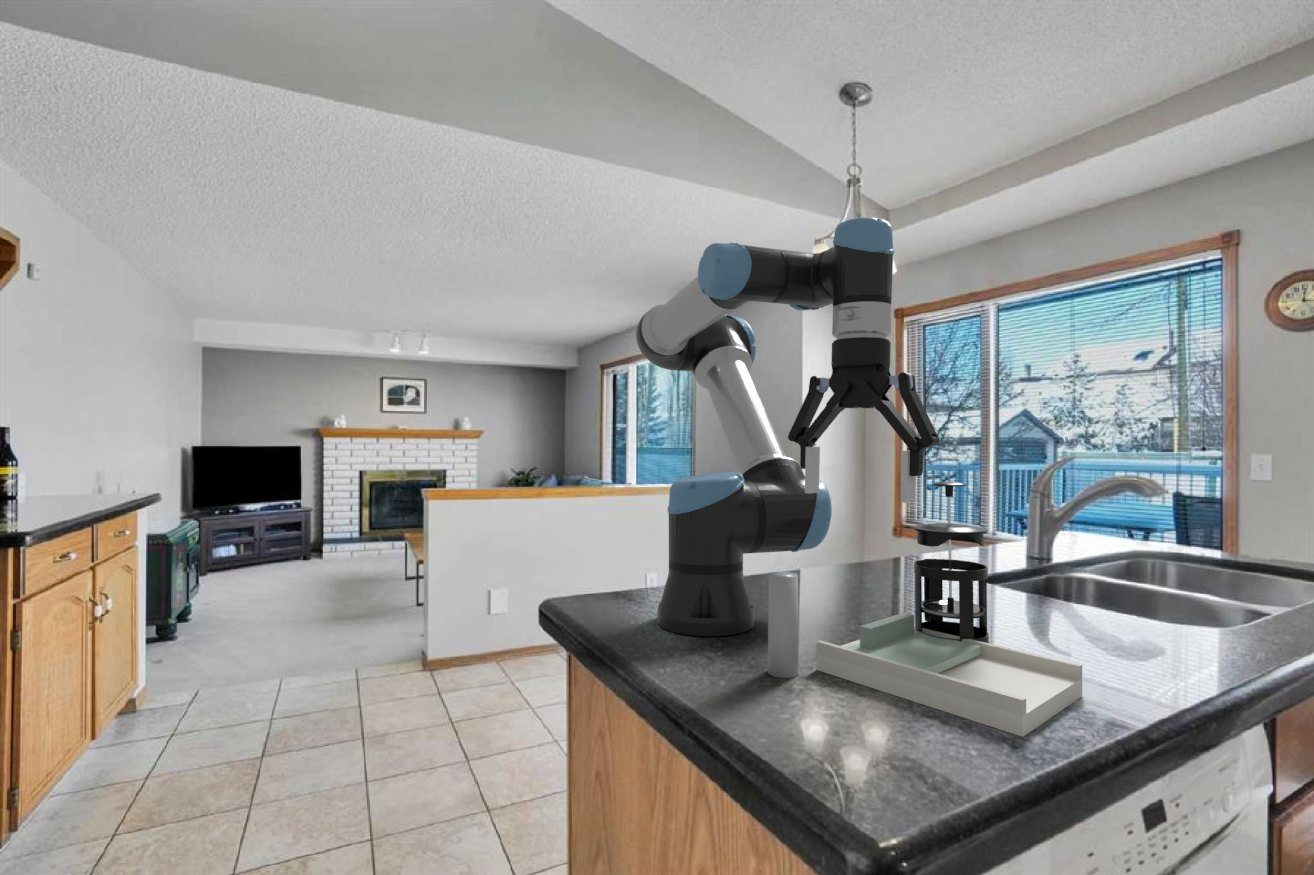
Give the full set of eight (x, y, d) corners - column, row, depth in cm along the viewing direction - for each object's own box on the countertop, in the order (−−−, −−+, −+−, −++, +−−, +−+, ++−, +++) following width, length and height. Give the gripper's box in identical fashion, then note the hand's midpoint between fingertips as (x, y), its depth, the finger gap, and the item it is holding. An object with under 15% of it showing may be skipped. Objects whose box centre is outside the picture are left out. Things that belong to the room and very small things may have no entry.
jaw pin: (761, 671, 80) (762, 574, 80) (780, 665, 82) (781, 570, 83) (784, 680, 77) (785, 578, 78) (803, 673, 80) (804, 575, 80)
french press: (1008, 668, 81) (1005, 483, 82) (933, 669, 81) (931, 484, 82) (963, 640, 93) (961, 479, 93) (897, 641, 93) (895, 479, 93)
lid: (846, 656, 79) (845, 627, 79) (905, 635, 88) (905, 609, 88) (924, 679, 71) (924, 647, 71) (980, 654, 80) (980, 625, 80)
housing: (816, 669, 81) (816, 641, 81) (886, 644, 91) (886, 619, 91) (1023, 736, 62) (1022, 700, 62) (1082, 696, 73) (1082, 664, 73)
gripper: (766, 342, 93) (763, 491, 93) (948, 327, 76) (943, 508, 77) (793, 347, 98) (790, 487, 99) (968, 334, 82) (964, 503, 82)
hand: (857, 497), depth 88 cm, fingers open, 13 cm apart
